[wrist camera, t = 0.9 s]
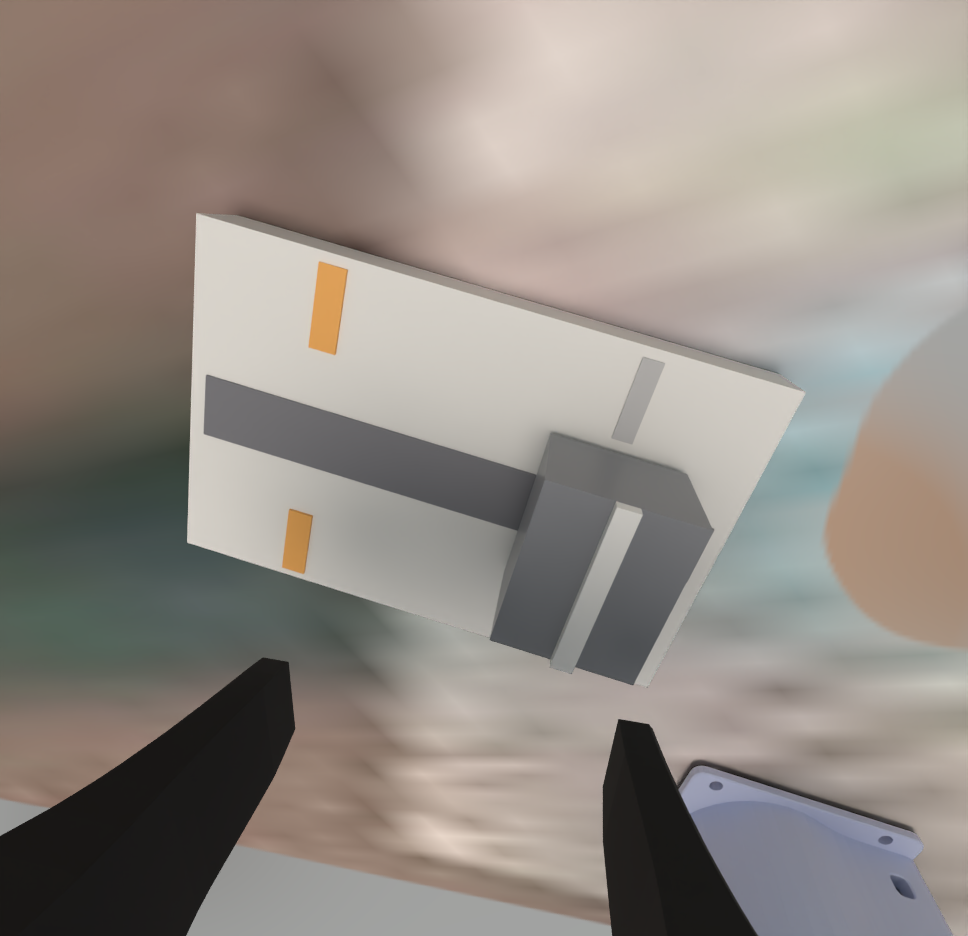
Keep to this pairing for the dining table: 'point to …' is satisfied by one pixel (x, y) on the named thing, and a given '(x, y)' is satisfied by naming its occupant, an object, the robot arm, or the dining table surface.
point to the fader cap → (598, 559)
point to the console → (431, 420)
